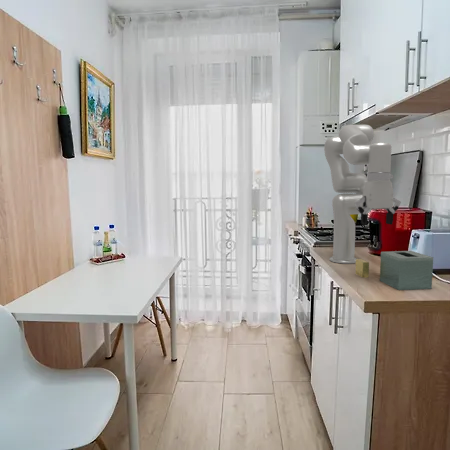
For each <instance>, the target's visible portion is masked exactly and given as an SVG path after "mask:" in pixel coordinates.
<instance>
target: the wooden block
mask: <svg viewBox="0 0 450 450" xmlns="http://www.w3.org/2000/svg"><path fill="white" fill-rule="evenodd" d="M369 271H370V262H369V261H367V260H366V259H365V260H364V259H362V258H357V259H356V263H355V275H357V276H359V277H360V278H365V279H367V278H369V276H370V275H369V273H370V272H369Z"/></svg>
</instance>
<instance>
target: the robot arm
mask: <svg viewBox="0 0 450 450" xmlns="http://www.w3.org/2000/svg"><path fill="white" fill-rule="evenodd" d="M374 135H375V133H374V129H373V127H372V126H371V125H369V124H345V125H343V126H342V127H341V128H340V130H339V132H338V136H336V135H335V136H331V137H328V138H327V139H326V140H325V142H324V145H323V146H324V156H325V160H326V161H327V164H328V166H329V169H330V175H331V183H332V187H333V190H334V192H336V193H338V194H336V195H334V197H333V198H332V201H331V205H332V212H333V241H332V243H333V246H332V247H333V249H332V250H333V251H332V256H330V257H329V261H330V262H333V263H337V264H348V265H349V264H356V259H358V258H357V257H355V250H356V249H355V248H356V247H355V246H356V244H355V243H356V222H355V220H354V219H353V218H352V216H351V215H360V223H361V225H363V226H368V218H369V215H368V214H369V213H370V212H371V211H372V210H382V209H383V210H386V211H387V212H386V215H385V216H386V217H385V224H387V225H391V226H392V225H393V224H394V223H393V222H394V214H395V213H396V212H397V210H398V209H399V207H400V205H401V203H402V202H401V201H400V200H398V199H397V198H395V197H394V188H393V183H392V182H393V181H391V179H393V178H394V174H392V173H391V171H392V170H391V168H392V167H391V166H392V164H391V163H392V144H390V143H389V142H376V143H375V142H374V143H372V141H373V140H374ZM371 143H372V144H371ZM341 155H343V156H341ZM350 165H354V166H363V165H364V166H367V165H368V166H367V175H365V174H364V173H362V172H351V170H350ZM393 204H394V205H393Z"/></svg>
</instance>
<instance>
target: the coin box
mask: <svg viewBox="0 0 450 450" xmlns="http://www.w3.org/2000/svg"><path fill="white" fill-rule="evenodd" d="M379 263H380V264H379V265H380V266H379V281H380V282H382V283H384V284H385V285H387V286H390V287H392V288H393V289H395V290H397V291H405V290H406V291H408V290H409V291H411V290H414V291H415V290H432V286H433V272H434V271H433V270H434V269H433V268H434V257H433V256H430V255H427V254H423V253H421V252H417V251H412V250H398V251H397V250H395V251H393V250H392V251H381V252H380V262H379Z"/></svg>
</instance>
